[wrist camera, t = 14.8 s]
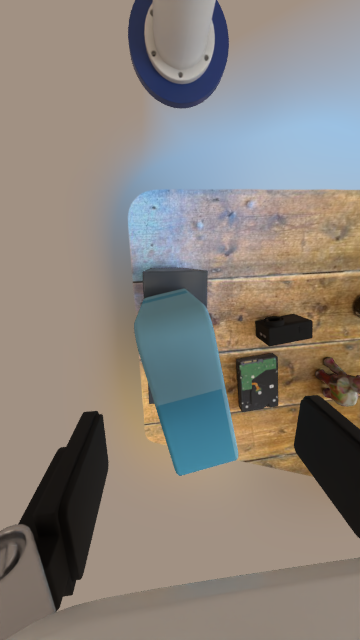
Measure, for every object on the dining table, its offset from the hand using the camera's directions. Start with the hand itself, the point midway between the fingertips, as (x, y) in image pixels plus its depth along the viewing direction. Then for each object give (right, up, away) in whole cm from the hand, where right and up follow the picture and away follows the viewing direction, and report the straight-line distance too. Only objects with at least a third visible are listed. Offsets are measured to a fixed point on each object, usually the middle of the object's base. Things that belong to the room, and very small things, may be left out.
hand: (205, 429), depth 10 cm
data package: (-2, +3, +15) cm, 15 cm away
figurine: (+39, -11, +51) cm, 65 cm away
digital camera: (+23, +4, +45) cm, 51 cm away
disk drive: (+19, -11, +49) cm, 54 cm away
